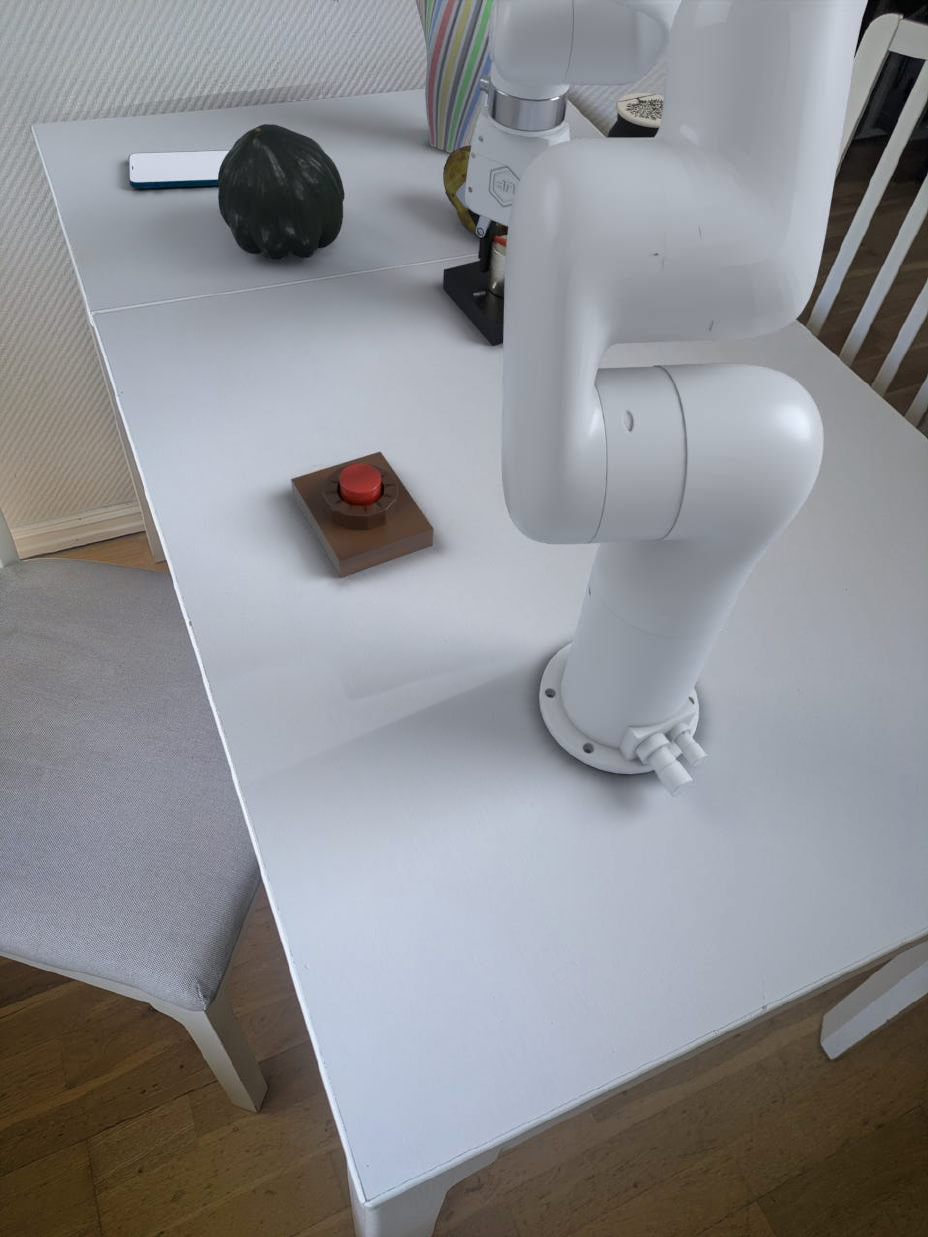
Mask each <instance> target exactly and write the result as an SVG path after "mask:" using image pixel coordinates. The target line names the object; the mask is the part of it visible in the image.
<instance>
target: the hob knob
mask: <svg viewBox="0 0 928 1237" xmlns="http://www.w3.org/2000/svg"><path fill="white" fill-rule="evenodd" d="M506 245H507V235H504V236H500V237H499V236H495V237H494V240H493V242H492V245H491V256H490V267H489V277H488V288H489V290H490V291H491V292H492V293H494V294H495V295H498V296H501V297H504V285H505V261H506Z"/></svg>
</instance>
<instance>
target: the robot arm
mask: <svg viewBox="0 0 928 1237" xmlns="http://www.w3.org/2000/svg"><path fill="white" fill-rule="evenodd" d="M868 1H869V0H497V2H496V3H495V4H494V6H493V9H492V12H491V18H490V23H489V54H490V58H491V61H492V68H491V76H486V75H483V76H482V77H481V79H480V83H479V88H480V90H482V91H485V92H486V95H487V103H486V105H485V106H484V108H482V109H481V111H480V114H479V117H478V121H477V125H476V128H475V132H474V137H473V141H472V146H471V151H470V156H469V163H468V170H467V177H466V181H465V182H464V183H463V184H462V186H461V187H460V188H459V189H458V190H457V191H456V196H457V198H458V199H459V200H460V201H461V203H462V204H463V205H464V207H465V208H467V209H468V214H469V216H470V217H471V219H472V221H473V222H474V224H475V226H476V234H477V235H478V236H477V235H476V236H477V237H478V238H479V244H478V254H477V255H478V258H477V259H479V261H480V266H479V271H480V272H482V273H486V272H487V271H488V270H489V267H490V256H491V245H492V242H493V240H494V237H495V236H499V237H500V236H501V229H500V228H498V227H497V225H498V223H500V224H502V225H505V226H507V227H508V234H507V245H506V261H505V285H504V335H503V343H502V344H503V345H502V385H501V386H502V387H501V388H502V390H501V392H502V393H501V426H500V428H501V432H500V433H501V434H500V445H501V446H500V469H501V483H502V491H503V498H504V502H505V506H506V511H507V513H508V516H509V518H510V520H511V522H512V524H513V525H514V527H515V528H516V529H517V530H518V531H519V532H520V533H521V534H522V535H523V536H525V537H526V538H528V539H530V540H531V541H535V542H537V543H541V544H546V545H591V544H592V545H593V544H598V546H597V549H596V552H595V556H594V560H593V563H592V568H591V571H590V574H589V578H588V583H587V587H586V590H585V594H584V597H583V601H582V605H581V607H580V612H579V616H578V619H577V623H576V627H575V630H574V634H573V638H572V641H571V642H569V643H568V644H566V645H564V646H563V647H561V649H559V650H558V651H557V652H556V653H555V654H554V655H553V657H552V658H551V659H550V660H549V662H548V664H547V665H546V667H545V669H544V670H543V674H542V677H541V681H540V686H539V694H538V699H539V701H538V702H539V710H540V712H541V716H542V719H543V722H544V724H545V726H546V727H547V729H548V731H549V734H550V736H552V737H553V738H554V740H555V742H557V744H558V745H559V746H560V747H561V748H562V749H563V750H565V751H566V752H567V753H568V754H569V755H571V756H572V757H574V758H575V759H577V760H579V761H580V762H582V763H584V764H585V765H587V766H590V767H593V768H595V769H598V770H600V771H604V772H609V773H613V774H622V775H635V774H637V775H638V774H644V773H645V774H646V773H649V772H652V771H654V772H655V773H656V775H657V777H658V779H659V780H660V781H661V783H662V784H663V786H664V787H665V788H666V790H667V792H668V793H669V794H670V796H671V797H672V798H674V797H677V796H679V795H681V794H683V793H685V792H686V791H687V790H689V789H690V788H691V787H692V786H693V785H694V782H695V780H694V779H693V778H692V777H691V775H690V774H689V772H688V771H687V770H686V768H685V767H684V766H683V765H682V763H681V762H680V761H678V760H677V758H678V757H680V756H681V755H683V757H684V758H685V759H686V760H687V762H688V763H689V765H690V766H691V767H692V768H696V767H699V766H700V765H702V764H703V763H704V762H706V761H707V760H708V758H709V757H708V756H709V755H708V754H707V753H706V752H705V750H704V749H703V748H702V747H701V745H700V744H699V743H698V742H696V740H695V739H694V738H693V737H694V735H695V732H696V731H697V727H698V723H699V719H700V703H699V699H698V695H697V694H698V693H697V691H696V689H695V685H696V684H697V681H698V679H699V677H700V675H701V673H702V671H703V668H704V666H705V664H706V662H707V660H708V658H709V656H710V654H711V652H712V651H713V648H714V646H715V644H716V642H717V640H718V637H719V636H720V633H721V632H722V631H721V630H722V629H723V627H724V625H725V623H726V620H727V619H728V616H730V614H731V613H732V610H733V609H734V606H735V604H736V602H737V600H738V598H739V596H740V594H741V592H742V590H743V588H744V586H745V584H746V582H747V580H748V578H749V577H750V575H751V573H752V571H753V570H754V568H755V567H756V565H757V563H759V561H760V560H761V558H762V556H763V555H764V554H765V553H766V552H767V550H768V549H769V548H770V547H771V545H772V544H773V543H774V542H775V541H776V540H777V539H778V538H779V537H780V536H781V534H782V533H783V532H784V531H785V529H787V527H788V526H789V525H790V524H791V523H792V521H793V520H794V519H795V517H796V516H797V515H798V514H799V512H800V510H801V509H802V508H803V506H804V504H805V503H806V501H807V499H808V498H809V496H810V494H811V492H812V490H813V488H814V485H815V484H816V480H817V478H818V475H819V473H820V469H821V465H822V460H823V454H824V441H825V440H824V438H825V436H824V427H823V421H822V417H821V413H820V411H819V408H818V407H817V404H816V402H815V400H814V398H813V397H812V395H811V394H810V392H809V391H808V390H807V389H806V388H805V387H804V386H803V385H802V384H801V383H800V382H799V381H797V380H796V379H794V378H793V377H791V376H790V375H788V374H786V373H784V372H781V371H779V370H776V369H774V368H770V367H766V366H763V365H762V366H760V365H754V364H747V363H732V362H731V363H730V362H729V363H727V362H713V363H711V362H710V363H708V362H707V363H687V364H686V363H685V364H657V365H655V364H654V365H652V366H631V367H630V366H627V367H603V368H601V367H600V364H601V362H602V359H603V357H604V355H605V354H606V352H607V351H608V350H609V349H610V348H611V347H612V346H616V345H622V344H652V343H653V344H655V343H683V342H684V343H686V342H709V341H710V342H712V341H728V340H729V341H730V340H740V339H741V340H742V339H749V338H756V337H760V336H761V337H762V336H765V335H768V334H772V333H776V332H778V331H781V330H783V329H784V328H786V327H788V326H790V325H791V324H792V323H794V322H795V321H796V320H797V319H798V318H799V317H800V316H801V315H802V314H803V311H804V309H806V308H805V307H806V306H807V304H808V303H809V301H810V299H811V296H812V293H813V291H814V288H815V286H816V282H817V279H818V274H819V269H820V265H821V262H822V256H823V251H824V245H825V240H826V235H827V230H828V223H829V217H830V210H831V205H832V198H833V192H834V187H835V181H836V174H837V168H838V163H839V157H840V150H841V146H842V145H841V144H842V139H843V132H844V127H845V119H846V115H847V109H848V101H849V96H850V91H851V90H850V89H851V82H852V76H853V75H852V74H853V68H854V62H855V61H854V60H855V54H856V51H857V50H856V49H857V45H858V40H859V35H860V31H861V26H862V22H863V17H864V14H865V11H866V8H867V5H868ZM666 52H667V54H666V55H667V56H666V62H665V63H666V64H665V76H664V77H665V79H664V92H663V93H664V94H663V96H664V102H663V111H662V118H661V123H660V127H659V129H658V132H657V134H656V135H655V137H652V138H608V137H584V138H583V137H582V138H576V139H571V131H570V124H569V122H567V121H566V120H565V119H566V112H567V107H568V99H569V91H570V86H627V85H630V84H633V83H636V82H638V81H640V80H642V79H643V78H644V77H646V76H647V75H648V74H649V73H650V72H651V71H652V70H653V68H654V67H655V66H656V65H657V64H658V62H659V61H660V59H661V58H662V57H663V55H664V54H665V53H666Z"/></svg>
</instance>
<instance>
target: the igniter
mask: <svg viewBox="0 0 928 1237" xmlns="http://www.w3.org/2000/svg"><path fill="white" fill-rule="evenodd" d="M354 464H366V465H370V466H372V467H374V468H375V469H377V470H378V472H379V473H380V476H381V495H380V497H379V499H378V500H377V501H376V502H375V503H373V504H370V505H367V506H354V505H350V504H348V503H347V502H345V501H344V500H343V498H342V497H341V494H340V481H339V477H340V474H341V472H342V471H343V470H344V469H345V468H347V467H348V466H351V465H354ZM290 482H291V483H290V484H291V490H292V498H293V499H294V500H295V502H296V504H297V505H298V507H299V509H300V510H301V512H302V514H303V516H304V517H305V519H306V521H307V523H308V524H309V526H310V528H311V529H312V531H313V533H314V534H315V536H316V539H317V541H319V544H320V545H321V547H322V548H323V550H324V552H325V554H326V555H327V557H328V559H329V561H330V562H331V565H332V566H333V567H334V569H335V570H336V572H337V574H338V575H339V578H344V577H347V576H350V575H352V574H356V573H359V572H362V571H364V570H367V569H370V568H373V567H375V566H378V565H381V564H384V563H386V562H390V561H392V560H395V559H398V558H400V557H403V556H405V555H409V554H411V553H415V552H417V551H420V550H423V549H426V548H429V547H432V546H433V545H434V529H435V528H434V527H433V526H432V524H431V523H430V520H428V518H427V517H426V515H425V514H424V512H423V511H422V509H421V508H420V507H419V505H418V504H417V502H416V501H415V499H414V498H413V497H412V495H411V494H410V492H409V491H408V489H407V488H406V486H405V485H404V483H403V482H402V480H401V478H400V477H399V476H398V474H397V473H396V472H395V470H394V468H393V467H392V466H391V465H390V462H389V461H388V460H387V459H386V457H385V456H384V454H383V452H382V451H377V452H374V453H370V454H368V455H365V456H360V457H357V458H355V459H354V458H353V459H351V460H348V461H345V462H341V463H338V464H335V465H332V466H329V467H325V468H322V469H319V470H315V471H312V472H309V473H306V474H303V475H299V476H296V477H293V478H291V479H290Z"/></svg>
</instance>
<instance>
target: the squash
mask: <svg viewBox="0 0 928 1237" xmlns="http://www.w3.org/2000/svg"><path fill="white" fill-rule="evenodd" d="M229 150H230V151H229V152H228V154H227V155H226V156H225V158H224V160H223V161H222V164H221V166H220V170H219V173H218V185H217V186H218V195H217V198H218V199H217V200H218V201H217V202H218V207H219V212H220V215H221V217H222V219H223V220H224V222H225V224H226V225H227V226H228V228H230V231H231V234H232V236H233V238H234V240H235V242H236V244H237V246H238V247H239V248H240V249H242V250H243V251H244V252H246V253H248V254H251V255H252V254H253V255H259V254H263V256H265V257H266V258H267V259H268V260H271V261H279V260H280V261H281V260H283V259H284V258H286V257H287V256H288V255H289V253H291V254H292V255H293V256H295V257H296V258H299V259H309V258H311V257H312V256H313V255H314V253H316V251H317V249H324V248H326V247H328V246H330V245H331V244H332V243H333V242H335V241H336V239H337V238H338V236H339V235H340V232H341V230H342V226H343V221H344V200H345V196H346V195H345V190H344V184H343V180H342V177H341V174H340V171H339V169H338V167H337V165H336V164H335V162H334V160H333V159H332V158H331V157H330V156H329V155H328V154H327V153H326V151H324V148H322V147H321V145H320V144H319V143H318V142H317V141H315V140H314V139H313V138H311V137H309V136H307V135H304V134H301V133H300V132H299V133H298V132H296V131H293V130H290V129H289V128H286V127H284V126H280V125H278V124H274V123H273V124H269V123H268V124H267V123H264V124H260V125H258V126H256V127H253V128H251V129H250V130H248V131H246V132H245V133H244V134H243V135H241V137H240V138H238V139H237V140H236V141H235V142H234V143H233V145H232V147H231V149H229Z"/></svg>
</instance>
